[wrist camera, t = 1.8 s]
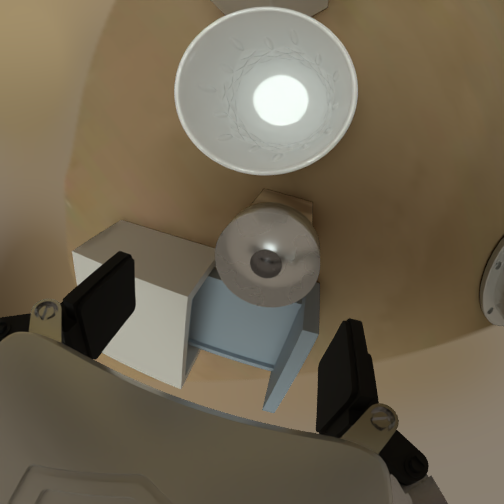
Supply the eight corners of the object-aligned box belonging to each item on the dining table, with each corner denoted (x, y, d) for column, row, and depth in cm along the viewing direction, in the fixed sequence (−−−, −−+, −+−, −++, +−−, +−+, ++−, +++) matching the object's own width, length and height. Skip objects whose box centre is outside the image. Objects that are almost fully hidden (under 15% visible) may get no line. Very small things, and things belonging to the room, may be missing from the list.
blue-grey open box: (319, 283, 24) (318, 334, 18) (283, 364, 30) (274, 413, 24) (200, 247, 25) (167, 287, 19) (190, 335, 31) (166, 377, 25)
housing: (220, 250, 25) (187, 296, 18) (205, 340, 31) (181, 389, 24) (121, 219, 26) (72, 251, 19) (124, 308, 32) (91, 346, 25)
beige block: (312, 202, 21) (311, 229, 16) (298, 246, 23) (293, 284, 18) (264, 188, 22) (247, 210, 17) (253, 233, 24) (234, 266, 18)
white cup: (350, 140, 19) (380, 151, 10) (252, 165, 21) (206, 196, 12) (317, 46, 16) (318, -12, 7) (220, 76, 18) (154, 48, 10)
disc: (333, 219, 16) (335, 231, 14) (302, 299, 18) (300, 319, 17) (234, 190, 16) (223, 199, 14) (218, 274, 19) (208, 290, 17)
